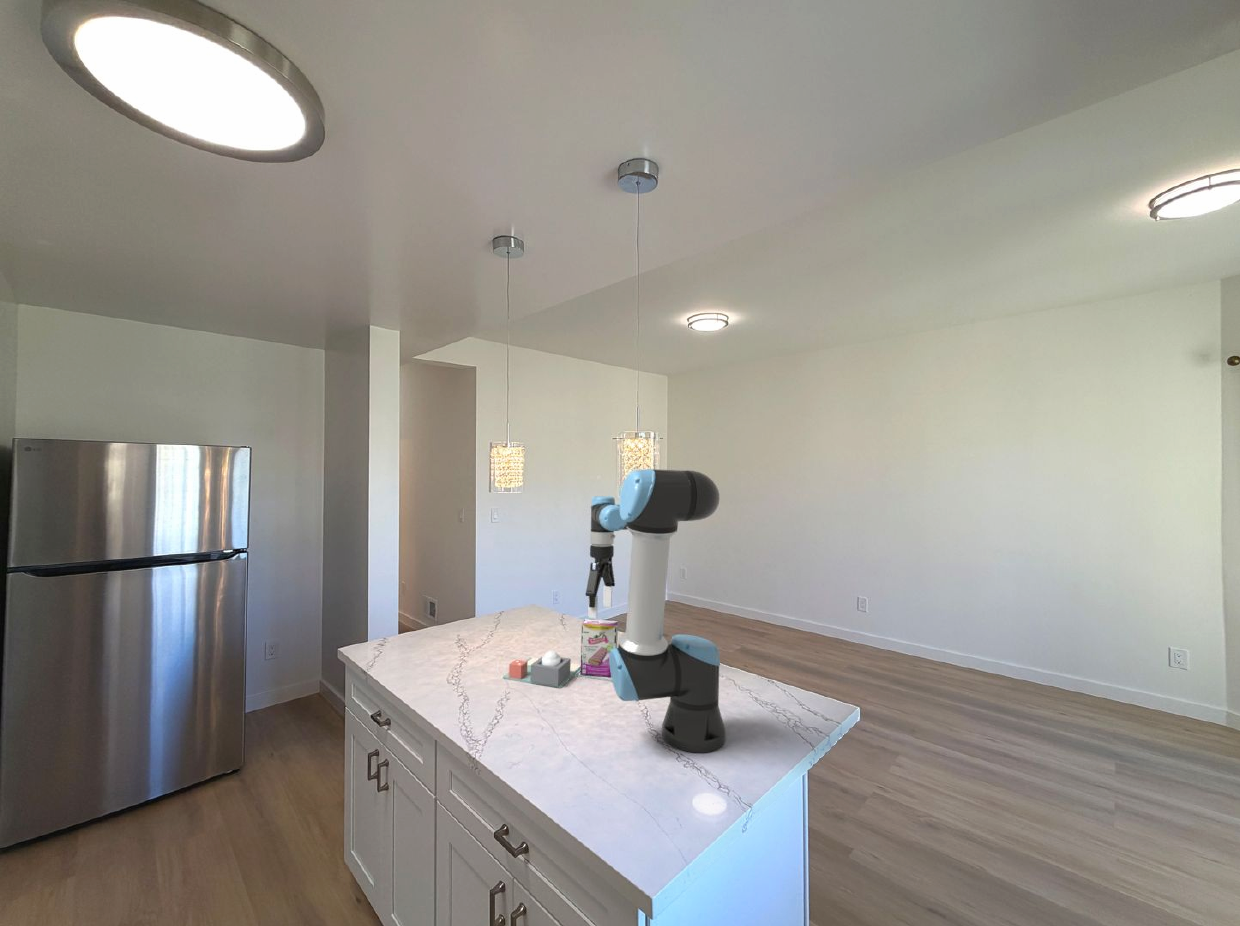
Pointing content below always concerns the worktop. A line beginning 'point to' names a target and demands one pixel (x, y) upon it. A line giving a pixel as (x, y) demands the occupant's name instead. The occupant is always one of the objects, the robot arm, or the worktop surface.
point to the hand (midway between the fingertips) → (600, 611)
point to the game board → (542, 672)
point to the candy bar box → (597, 646)
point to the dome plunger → (551, 659)
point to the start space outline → (589, 676)
